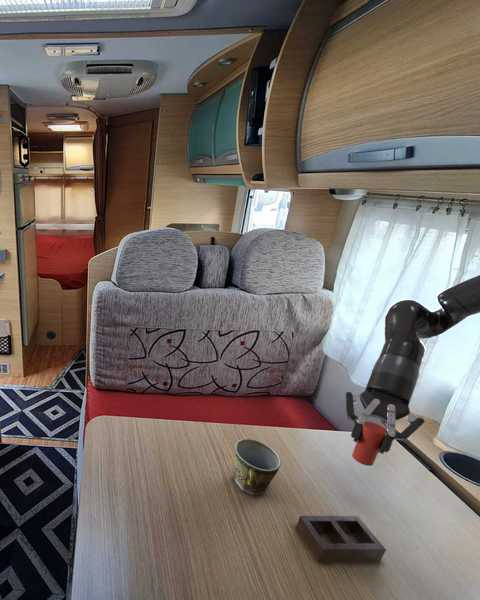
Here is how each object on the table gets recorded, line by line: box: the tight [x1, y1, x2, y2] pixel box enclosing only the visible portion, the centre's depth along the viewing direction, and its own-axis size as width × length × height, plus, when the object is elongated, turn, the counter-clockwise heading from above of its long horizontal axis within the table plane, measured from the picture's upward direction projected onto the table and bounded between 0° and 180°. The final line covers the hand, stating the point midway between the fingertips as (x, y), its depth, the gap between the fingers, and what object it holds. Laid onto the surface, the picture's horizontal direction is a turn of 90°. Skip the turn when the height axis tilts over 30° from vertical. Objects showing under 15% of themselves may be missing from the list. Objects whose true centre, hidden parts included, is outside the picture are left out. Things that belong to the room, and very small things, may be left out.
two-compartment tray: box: [295, 515, 387, 563], centre depth 69 cm, size 13×7×4 cm, turn 91°
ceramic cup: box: [234, 438, 282, 496], centre depth 80 cm, size 13×10×10 cm
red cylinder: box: [351, 421, 386, 467], centre depth 73 cm, size 4×4×9 cm
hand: (368, 446), depth 72 cm, fingers closed on red cylinder, 3 cm apart
